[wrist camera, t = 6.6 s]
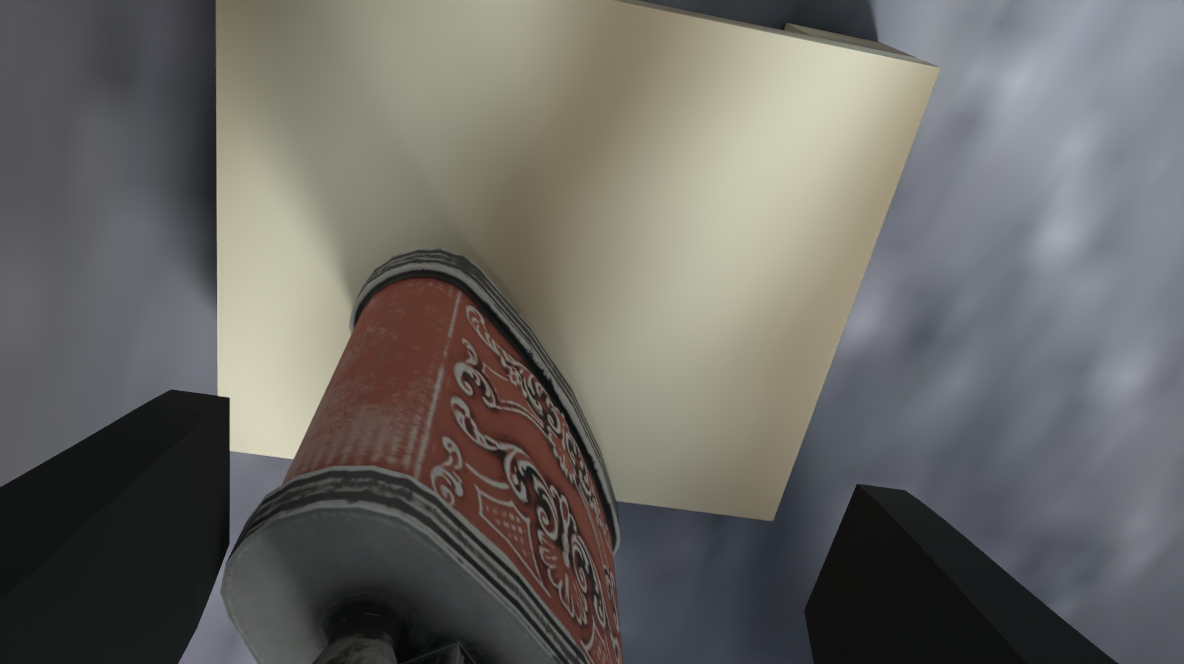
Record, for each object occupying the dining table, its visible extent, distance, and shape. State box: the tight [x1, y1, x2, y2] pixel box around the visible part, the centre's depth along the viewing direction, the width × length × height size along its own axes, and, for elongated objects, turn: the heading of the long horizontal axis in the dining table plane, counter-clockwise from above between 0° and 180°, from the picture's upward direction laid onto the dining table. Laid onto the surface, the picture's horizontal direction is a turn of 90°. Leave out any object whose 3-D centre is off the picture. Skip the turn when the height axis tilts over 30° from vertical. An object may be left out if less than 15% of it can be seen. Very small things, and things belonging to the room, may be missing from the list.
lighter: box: [220, 248, 623, 664], centre depth 13 cm, size 8×3×10 cm, turn 25°
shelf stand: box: [216, 0, 940, 521], centre depth 17 cm, size 12×10×3 cm
